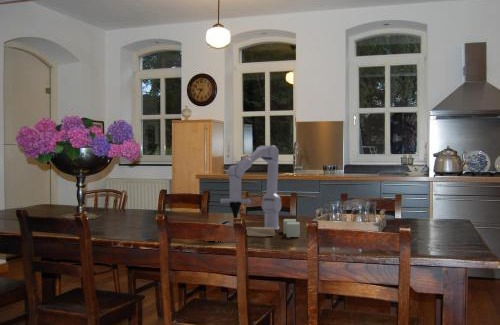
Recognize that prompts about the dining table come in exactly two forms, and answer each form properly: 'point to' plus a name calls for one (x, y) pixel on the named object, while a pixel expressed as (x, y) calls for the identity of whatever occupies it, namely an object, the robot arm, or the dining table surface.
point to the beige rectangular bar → (260, 231)
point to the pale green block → (286, 224)
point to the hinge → (226, 222)
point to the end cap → (293, 229)
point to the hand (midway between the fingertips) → (235, 218)
